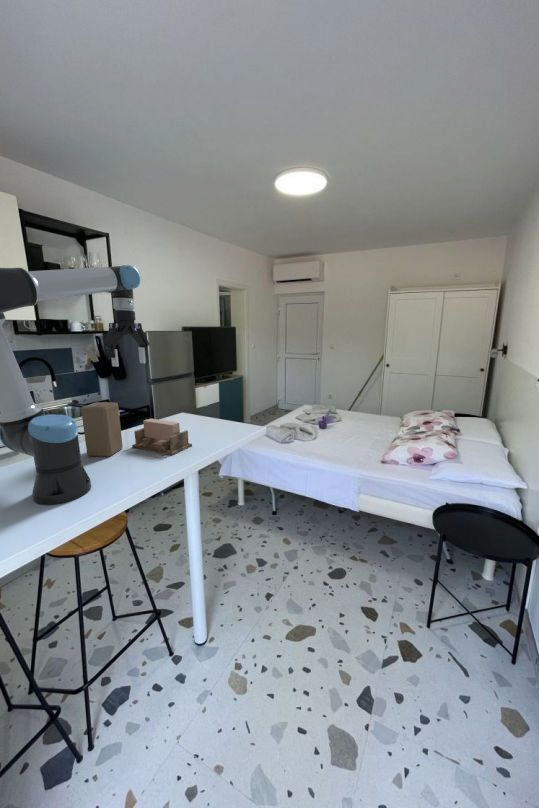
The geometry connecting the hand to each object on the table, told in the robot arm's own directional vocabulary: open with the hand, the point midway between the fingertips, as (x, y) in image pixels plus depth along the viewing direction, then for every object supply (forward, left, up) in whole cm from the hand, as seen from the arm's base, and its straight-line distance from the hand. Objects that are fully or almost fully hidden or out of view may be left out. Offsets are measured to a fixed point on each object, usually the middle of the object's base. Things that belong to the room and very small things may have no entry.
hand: (129, 364), depth 134 cm
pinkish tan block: (+4, -10, -31) cm, 33 cm away
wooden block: (-11, +6, -35) cm, 37 cm away
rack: (+4, -10, -35) cm, 36 cm away
